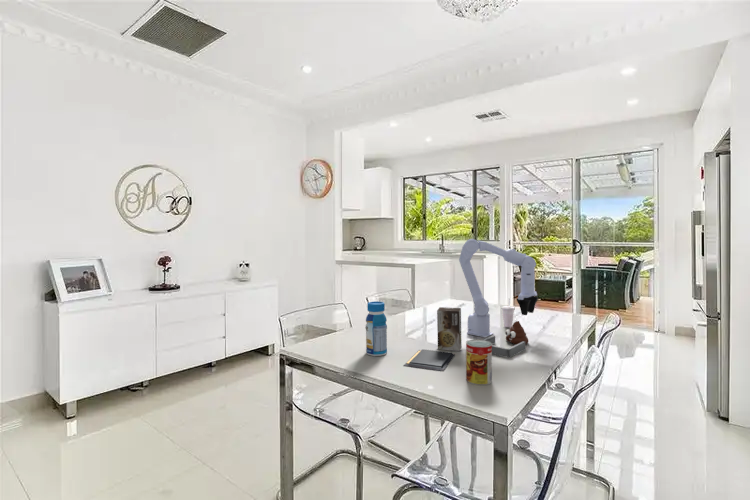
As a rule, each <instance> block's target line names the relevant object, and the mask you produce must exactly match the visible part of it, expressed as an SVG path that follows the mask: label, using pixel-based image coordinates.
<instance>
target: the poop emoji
mask: <svg viewBox="0 0 750 500" xmlns="http://www.w3.org/2000/svg"><path fill="white" fill-rule="evenodd" d="M504 334H505V335H506V336H505V340H506V342H509V343H511V344H513V345H516V344H519V343H521V342H523V341H524V342H525V346H526V345H528V344H529V338H528V336H527V333H526V331H525V329H524V327H523V326H522V325H521V322H520V320H517V321H515V322H513V323H512V327H509V329H505V333H504Z"/></svg>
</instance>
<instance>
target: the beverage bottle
mask: <svg viewBox="0 0 750 500" xmlns="http://www.w3.org/2000/svg"><path fill="white" fill-rule="evenodd" d="M366 307H367V315H366V317H365V322H366V324H365V342H366V343H365V346H366V348H365V352H366V354H367V355H368V356H372V357H382V356H384V355H386V354H387V353H388V347H387V345H388V344H387V343H388V341H387V340H388V339H387V338H388V336H387V335H388V334H387V333H388V332H387V330H388V325H387V317H386V315H385V314H384V312H385V307H386V306H385V302H384V301H380V300H379V301H369V302H367V304H366Z"/></svg>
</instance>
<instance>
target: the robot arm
mask: <svg viewBox="0 0 750 500" xmlns="http://www.w3.org/2000/svg"><path fill="white" fill-rule="evenodd" d="M478 250H479V252H485V251H486V252H489V253H492V254H495V255H498V256H499V257H503V260H504V261H505V262H507V263H510V264H513V265H515V266H518V267H519V266H520V267H521V272H520V293H519V294H517V295H518V297H517V298H516V302H517V303H518V306H519V310H520V313H521V315H523V316H527V315H528V313H531V314H533V313H534V311H535V308H536V307H535V306H536V304H537V302H538V300H539V296H538V293H537V291H535V289H536V286H535V284H536V281H535V280H536V277H535V276H536V275H535V274H536V273H535V271H536V270H535V268H536V266H537V262H536V260H535V258H533V257H532V256H530V255H527V253H522V252H520V251H519V252H518V251H517V250H516V249H515V248H508V249H503V248H501V247H498V246H497V245H493V244H492V243H489V242H487V241H482V240H477V239H475V238H469V239H467V240H466V241H465V243H464V244H463V245H462V247H461V252H460V254H459V259H458V261H459V264H460V267H461V270H462V272H463V275H464V278H465V281H466V283H467V287H468V289H469V292H470V295H471V298H472V300H473V304H474V306H473V307H474V312H473V313H470V314H469V315H468V317H467V332H466V334H467V335H471V336H475V337H481V338H488V337H490V336H491V335H492V336H493V335H494V332H491V330H490V329H491V328H490V327H491V326H490V325H491V321H490V319H491V318H490V317H491V314H490V313H489V312H490V307H489V303H488V301H487V300H486V299H485V298H484V295H483V293H482V290H481V288H480V285H479V282H478V279H477V277H476V274H475V271H474V269H473V266H472V263H471V260H472V258H473V256H474V254H476V253H477V251H478Z"/></svg>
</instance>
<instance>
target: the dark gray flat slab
mask: <svg viewBox="0 0 750 500" xmlns="http://www.w3.org/2000/svg"><path fill="white" fill-rule="evenodd" d="M455 355H456V354H454V353H453V352H448V351H443V350H431V349H418V350H417V351H416V352H415V353H414V355H413V356H411V357H410V358H409V359H408V360H407V361H406V362H405V363H404V364H403V367H407V368H414V369H420V370H427V371H435V372H445V370H446V369H447V367H448V366H449V365H450V363H451V362H452V360H453V359H454V358H455Z"/></svg>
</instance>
